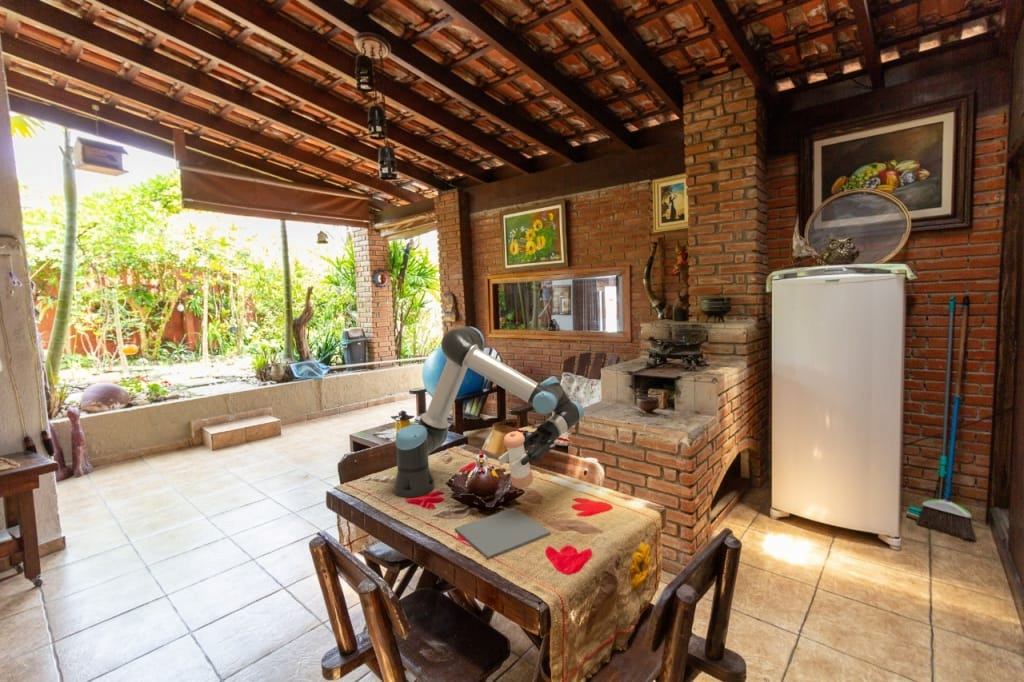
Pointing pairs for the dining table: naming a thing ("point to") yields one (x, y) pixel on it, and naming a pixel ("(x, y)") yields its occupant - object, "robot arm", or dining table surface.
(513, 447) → the pepper shaker
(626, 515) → the dining table surface
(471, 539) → the slate mat
